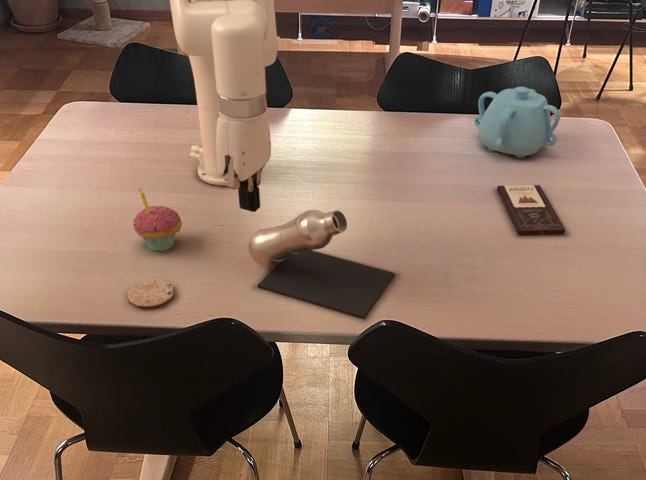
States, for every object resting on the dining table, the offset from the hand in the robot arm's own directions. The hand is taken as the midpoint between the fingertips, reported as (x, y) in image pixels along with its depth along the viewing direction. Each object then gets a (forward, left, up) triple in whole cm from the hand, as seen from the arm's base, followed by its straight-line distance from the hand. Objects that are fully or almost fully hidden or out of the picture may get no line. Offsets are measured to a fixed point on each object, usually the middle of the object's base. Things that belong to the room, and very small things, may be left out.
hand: (250, 208), depth 123 cm
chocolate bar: (+41, +40, -11) cm, 58 cm away
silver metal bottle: (+1, 0, -8) cm, 8 cm away
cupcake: (-18, -3, -11) cm, 22 cm away
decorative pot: (+30, +68, -11) cm, 75 cm away
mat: (+15, 0, -11) cm, 18 cm away
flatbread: (-10, -17, -11) cm, 23 cm away
